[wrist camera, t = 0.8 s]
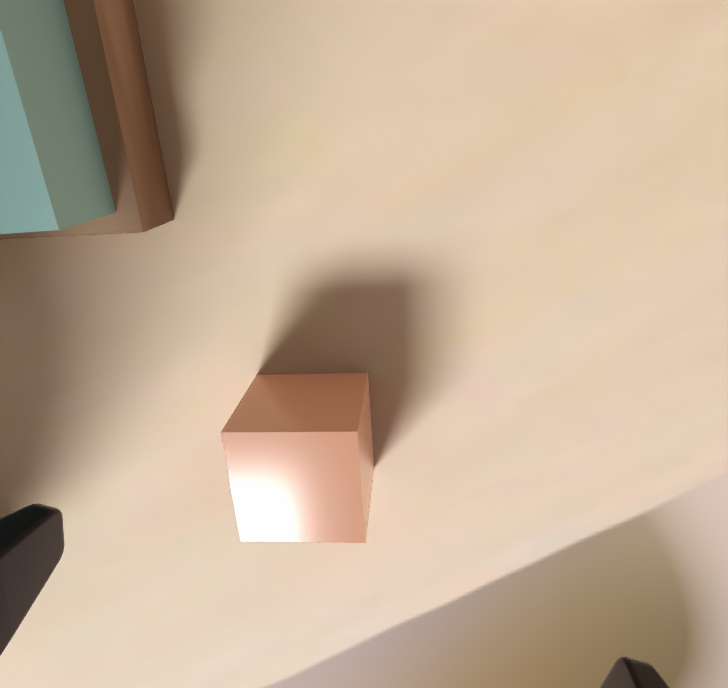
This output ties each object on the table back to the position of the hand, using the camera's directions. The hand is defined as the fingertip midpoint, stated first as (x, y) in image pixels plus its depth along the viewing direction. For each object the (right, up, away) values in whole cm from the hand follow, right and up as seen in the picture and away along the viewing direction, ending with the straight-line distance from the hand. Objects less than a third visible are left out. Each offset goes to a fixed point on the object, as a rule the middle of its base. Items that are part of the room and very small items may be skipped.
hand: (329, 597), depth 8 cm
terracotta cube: (-1, +1, +14) cm, 14 cm away
